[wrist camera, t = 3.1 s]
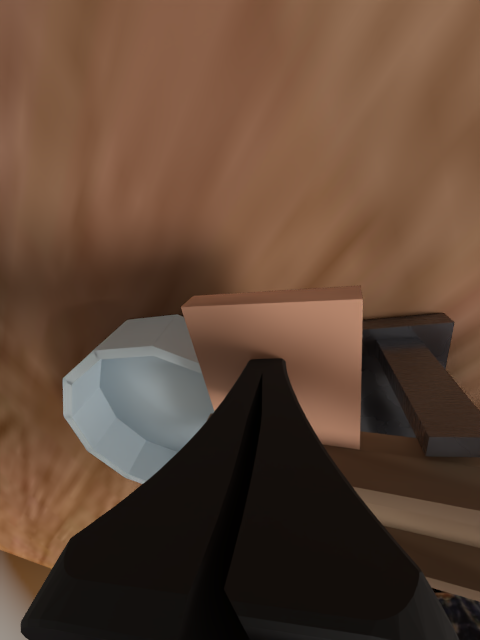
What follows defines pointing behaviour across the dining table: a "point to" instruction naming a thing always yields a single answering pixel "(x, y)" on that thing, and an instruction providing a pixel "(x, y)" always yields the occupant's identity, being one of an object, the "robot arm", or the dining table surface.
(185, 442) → the bowl
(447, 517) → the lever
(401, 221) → the dining table surface
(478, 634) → the jug
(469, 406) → the stand
